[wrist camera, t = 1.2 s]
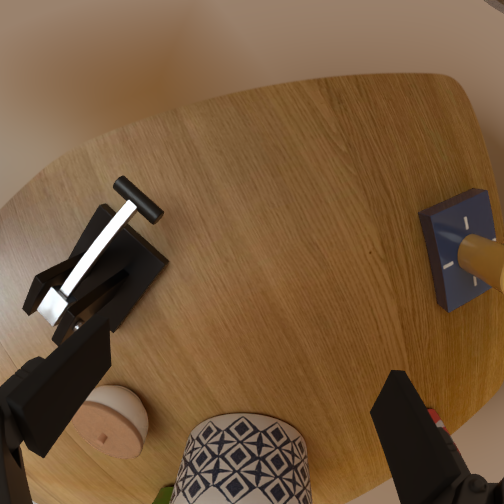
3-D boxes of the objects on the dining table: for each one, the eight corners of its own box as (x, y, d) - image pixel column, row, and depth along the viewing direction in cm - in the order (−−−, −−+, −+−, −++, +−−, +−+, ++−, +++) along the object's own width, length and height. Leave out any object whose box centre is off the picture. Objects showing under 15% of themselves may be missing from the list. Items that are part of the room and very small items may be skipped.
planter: (330, 441, 39) (346, 529, 23) (256, 487, 42) (252, 560, 27) (233, 390, 37) (216, 494, 21) (168, 447, 40) (141, 526, 25)
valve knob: (454, 241, 27) (500, 262, 19) (481, 228, 27) (528, 244, 19) (460, 277, 28) (502, 304, 20) (486, 262, 28) (530, 285, 20)
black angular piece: (106, 203, 31) (32, 220, 19) (169, 261, 33) (118, 308, 20) (63, 276, 34) (-1, 314, 22) (118, 328, 35) (67, 385, 23)
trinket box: (133, 367, 37) (104, 411, 28) (170, 422, 39) (153, 468, 30) (81, 377, 38) (51, 414, 29) (117, 427, 40) (96, 466, 31)
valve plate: (417, 212, 30) (431, 216, 27) (473, 188, 29) (488, 190, 26) (437, 303, 32) (449, 313, 29) (487, 275, 31) (501, 282, 28)
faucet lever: (126, 178, 25) (120, 171, 23) (166, 214, 26) (163, 209, 23) (38, 295, 23) (26, 298, 21) (73, 332, 24) (64, 338, 22)
